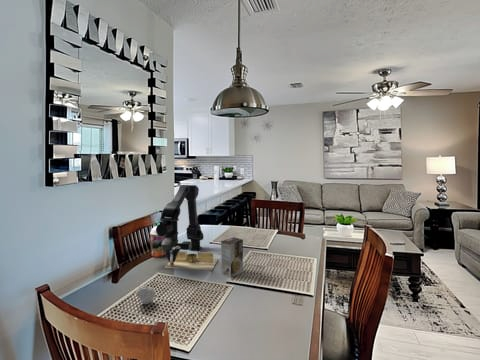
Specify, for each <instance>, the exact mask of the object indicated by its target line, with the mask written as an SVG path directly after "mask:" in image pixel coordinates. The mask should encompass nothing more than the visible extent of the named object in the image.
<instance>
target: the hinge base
mask: <svg viewBox="0 0 480 360" xmlns="http://www.w3.org/2000/svg"><path fill="white" fill-rule="evenodd" d="M197 258H198V253H197V254H196V253H189V254H188V250H182V251H181V250H180V251H179V252H178V255H177V257H176V260H175V261H187V262H188V263H194V262H197Z"/></svg>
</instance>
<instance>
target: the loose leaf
mask: <svg viewBox="0 0 480 360" xmlns="http://www.w3.org/2000/svg"><path fill="white" fill-rule="evenodd" d="M197 258H198V261H205V262H213V259H214V252H212V251H198V252H197Z"/></svg>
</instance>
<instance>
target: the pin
mask: <svg viewBox="0 0 480 360" xmlns="http://www.w3.org/2000/svg"><path fill="white" fill-rule="evenodd" d="M174 249H175V248H172V250H169V252H170V265H174V261H173V257H174V251H173V250H174Z"/></svg>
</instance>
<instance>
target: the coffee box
mask: <svg viewBox="0 0 480 360" xmlns="http://www.w3.org/2000/svg"><path fill="white" fill-rule="evenodd" d="M220 243H221V248H220V249H221V250H220V251H221V252H220V255H221V256H220V257H221V259H220V260H221V262H220V263H221V264H220V265H221V266H220V269H221V271H220V272H221V275H222V276H226V277H228V278H233V277H235V276H237V275H239V274H241V273H243V272H244V253H243V252H244V239H241V238H238V237H234V236H233V237H229V238H227V239H224V240H221V242H220Z"/></svg>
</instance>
